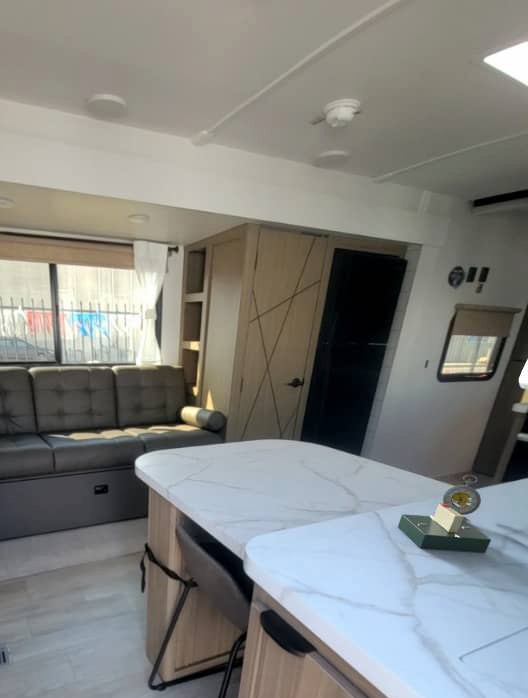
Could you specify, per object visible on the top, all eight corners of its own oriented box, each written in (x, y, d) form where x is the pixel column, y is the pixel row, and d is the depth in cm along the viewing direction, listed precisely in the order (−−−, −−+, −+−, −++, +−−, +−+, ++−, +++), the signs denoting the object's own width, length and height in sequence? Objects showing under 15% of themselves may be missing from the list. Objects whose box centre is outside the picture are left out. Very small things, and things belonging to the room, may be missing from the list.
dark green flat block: (455, 530, 86) (460, 516, 84) (486, 554, 77) (493, 539, 75) (396, 526, 86) (401, 512, 85) (420, 549, 78) (426, 534, 76)
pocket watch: (439, 525, 87) (457, 482, 83) (425, 510, 95) (440, 469, 90) (482, 531, 86) (502, 487, 81) (464, 515, 93) (482, 474, 89)
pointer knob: (457, 532, 78) (464, 515, 76) (448, 532, 78) (455, 514, 76) (440, 520, 83) (447, 503, 81) (432, 519, 83) (438, 502, 81)
